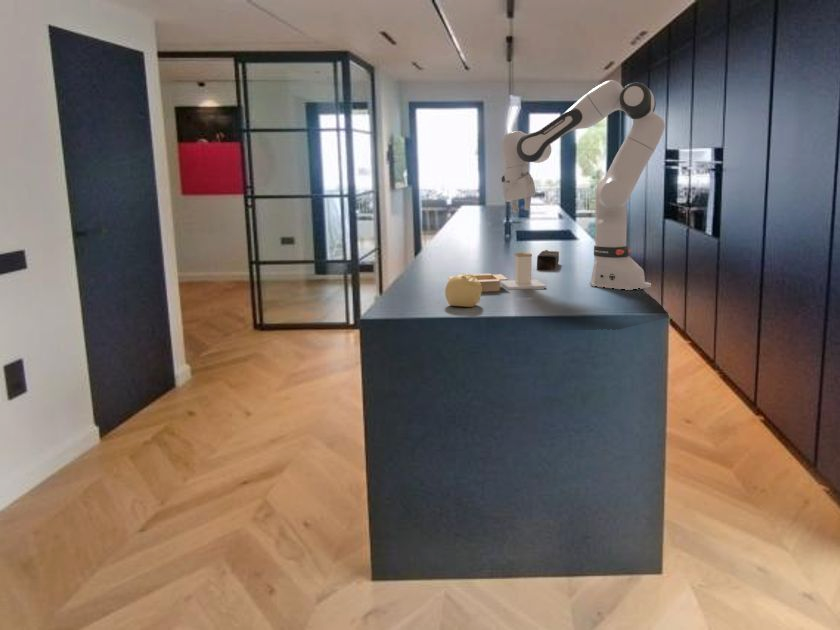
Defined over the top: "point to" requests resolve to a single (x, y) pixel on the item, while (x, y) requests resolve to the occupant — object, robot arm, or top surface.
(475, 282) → the sculpture
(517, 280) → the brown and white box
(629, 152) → the robot arm
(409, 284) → the top surface
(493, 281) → the carton
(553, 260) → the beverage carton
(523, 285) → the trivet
